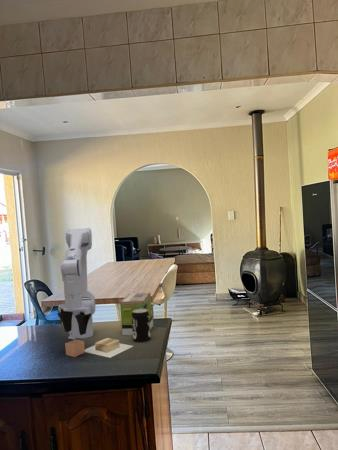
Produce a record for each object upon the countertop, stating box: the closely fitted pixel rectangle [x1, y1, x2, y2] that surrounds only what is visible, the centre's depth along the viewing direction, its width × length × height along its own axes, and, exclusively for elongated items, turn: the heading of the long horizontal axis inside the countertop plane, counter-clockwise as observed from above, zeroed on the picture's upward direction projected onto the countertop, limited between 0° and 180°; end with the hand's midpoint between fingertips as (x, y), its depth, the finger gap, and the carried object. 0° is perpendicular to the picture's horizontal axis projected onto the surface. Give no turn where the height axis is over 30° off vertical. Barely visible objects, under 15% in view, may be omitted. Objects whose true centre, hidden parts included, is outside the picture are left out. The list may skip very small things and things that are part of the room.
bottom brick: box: [94, 337, 120, 353], centre depth 130 cm, size 6×6×2 cm
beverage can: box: [132, 308, 152, 343], centre depth 138 cm, size 7×7×12 cm
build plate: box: [85, 342, 134, 359], centre depth 130 cm, size 14×12×1 cm
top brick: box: [64, 338, 86, 358], centre depth 127 cm, size 4×4×5 cm
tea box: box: [119, 292, 154, 336], centre depth 151 cm, size 15×10×15 cm
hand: (75, 332), depth 127 cm, fingers open, 7 cm apart
